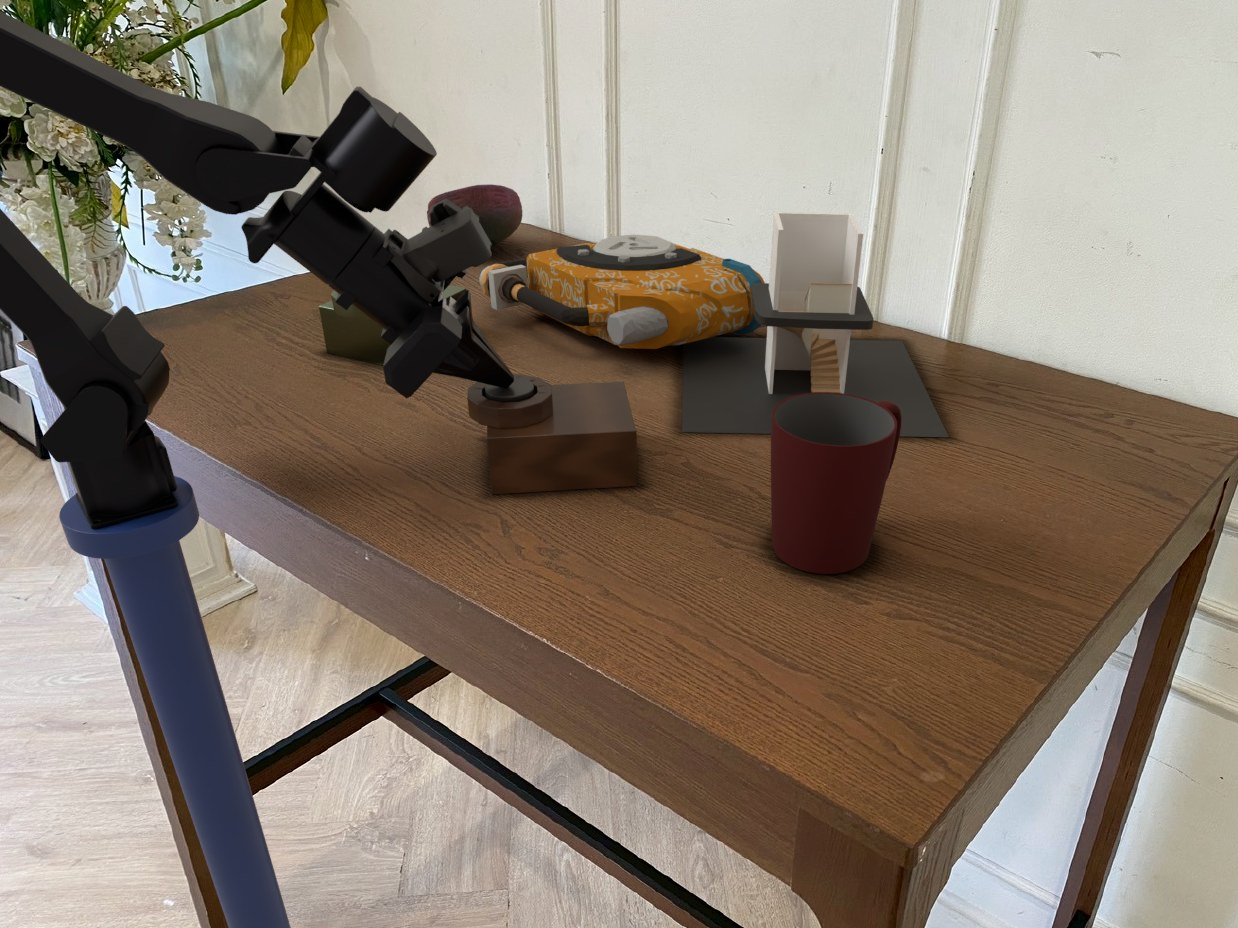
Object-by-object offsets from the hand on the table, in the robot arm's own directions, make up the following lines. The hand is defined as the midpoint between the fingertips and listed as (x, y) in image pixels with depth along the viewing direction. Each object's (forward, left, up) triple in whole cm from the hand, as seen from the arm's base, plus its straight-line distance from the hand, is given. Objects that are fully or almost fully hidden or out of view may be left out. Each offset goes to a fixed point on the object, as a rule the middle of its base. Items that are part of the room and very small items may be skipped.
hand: (510, 382), depth 84 cm
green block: (+3, +32, -8) cm, 33 cm away
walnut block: (+3, -2, -8) cm, 9 cm away
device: (+26, +23, -8) cm, 35 cm away
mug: (+14, -25, -8) cm, 30 cm away
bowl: (+25, +55, -7) cm, 60 cm away
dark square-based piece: (+33, -1, -8) cm, 34 cm away
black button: (0, 0, -2) cm, 2 cm away
